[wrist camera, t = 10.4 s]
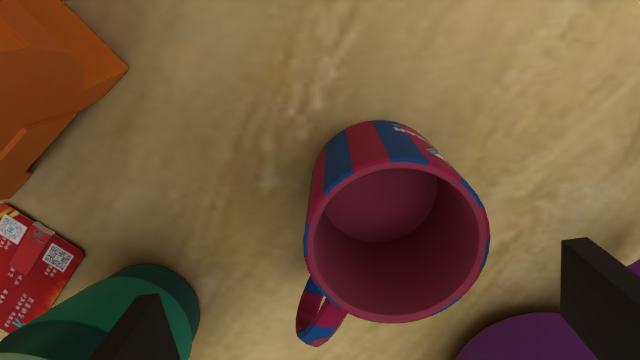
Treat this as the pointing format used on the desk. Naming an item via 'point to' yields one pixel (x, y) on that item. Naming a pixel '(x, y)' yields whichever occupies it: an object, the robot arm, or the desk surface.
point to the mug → (530, 338)
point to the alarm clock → (45, 80)
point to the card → (30, 268)
